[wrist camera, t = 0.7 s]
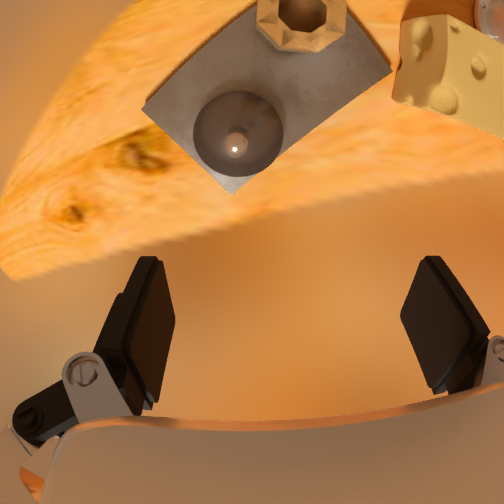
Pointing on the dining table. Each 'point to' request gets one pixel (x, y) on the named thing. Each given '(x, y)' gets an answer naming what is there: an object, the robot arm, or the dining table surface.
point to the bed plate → (267, 82)
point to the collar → (282, 38)
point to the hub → (238, 134)
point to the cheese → (452, 71)
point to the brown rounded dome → (298, 15)
